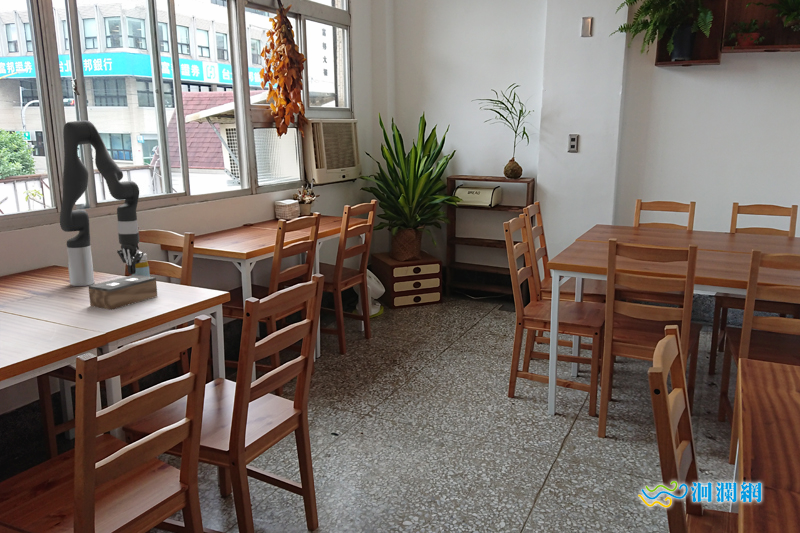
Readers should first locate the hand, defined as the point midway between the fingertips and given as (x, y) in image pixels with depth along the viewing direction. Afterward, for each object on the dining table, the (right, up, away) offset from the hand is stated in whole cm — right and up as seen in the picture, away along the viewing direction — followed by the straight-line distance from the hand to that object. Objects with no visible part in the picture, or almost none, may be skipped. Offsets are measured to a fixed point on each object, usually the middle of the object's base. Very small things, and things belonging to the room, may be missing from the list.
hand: (132, 273), depth 242 cm
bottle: (-4, -7, +19) cm, 20 cm away
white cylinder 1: (-4, -12, -6) cm, 14 cm away
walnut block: (-2, -11, -2) cm, 11 cm away
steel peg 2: (0, -10, +2) cm, 10 cm away
